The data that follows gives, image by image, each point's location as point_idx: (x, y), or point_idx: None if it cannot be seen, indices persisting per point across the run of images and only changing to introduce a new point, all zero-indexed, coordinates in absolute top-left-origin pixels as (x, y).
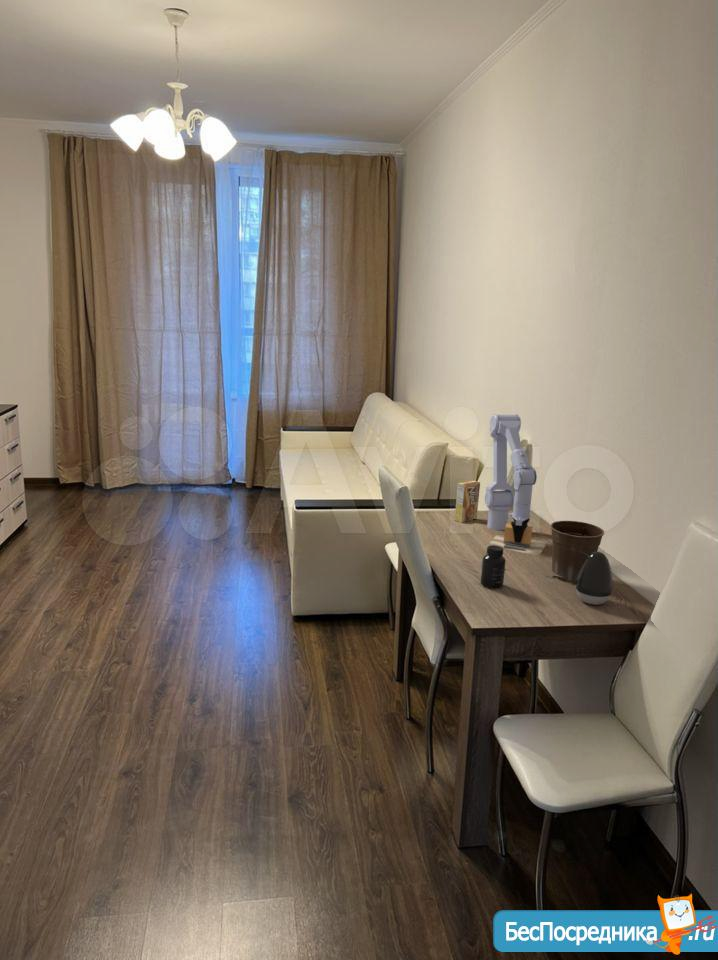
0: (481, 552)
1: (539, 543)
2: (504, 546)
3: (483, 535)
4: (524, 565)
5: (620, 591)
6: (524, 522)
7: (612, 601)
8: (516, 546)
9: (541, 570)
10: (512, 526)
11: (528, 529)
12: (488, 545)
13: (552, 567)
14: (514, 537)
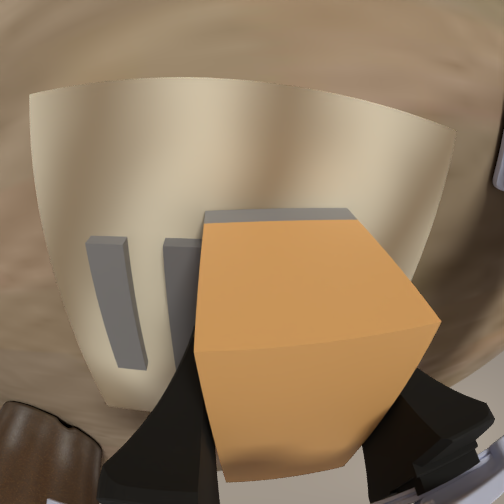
0: (9, 77)
1: None
2: (88, 244)
3: (461, 34)
4: (4, 339)
5: None
6: (375, 466)
7: None
8: (171, 318)
9: (17, 382)
10: (111, 460)
11: (245, 475)
12: (68, 92)
13: (3, 419)
14: (185, 353)
